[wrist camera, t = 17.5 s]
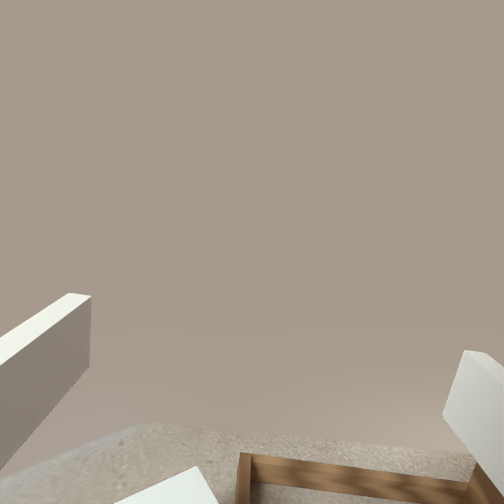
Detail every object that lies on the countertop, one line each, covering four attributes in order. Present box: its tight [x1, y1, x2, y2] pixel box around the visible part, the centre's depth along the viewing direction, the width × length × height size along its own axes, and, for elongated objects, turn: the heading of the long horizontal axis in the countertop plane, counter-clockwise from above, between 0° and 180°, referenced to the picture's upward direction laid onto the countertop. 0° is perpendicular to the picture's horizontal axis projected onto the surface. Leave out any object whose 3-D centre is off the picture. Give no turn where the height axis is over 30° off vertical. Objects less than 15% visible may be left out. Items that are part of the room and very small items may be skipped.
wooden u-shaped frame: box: [235, 452, 504, 504], centre depth 37 cm, size 30×11×10 cm, turn 89°
